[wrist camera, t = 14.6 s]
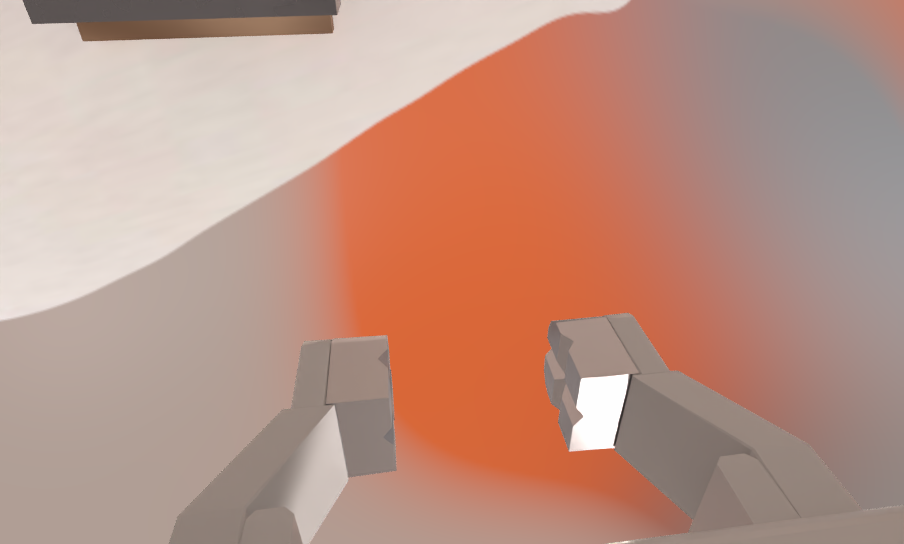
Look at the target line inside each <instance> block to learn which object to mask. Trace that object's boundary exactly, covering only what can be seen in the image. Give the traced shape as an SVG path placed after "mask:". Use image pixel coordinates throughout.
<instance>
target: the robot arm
mask: <svg viewBox="0 0 904 544" xmlns="http://www.w3.org/2000/svg"><path fill="white" fill-rule="evenodd" d="M547 338H548V340H549V343H550V346H551V348H552V349H551V350H550V351H549V352H548V353H547V354H546V356H545V366H544V373H545V384H546V388H547V392H548V395H549V398H550V401H551V404H552V405H554V406H555V407H557V408H558V409H559V410H560V414H559V420H558V423H559V426H560V428H561V431H562V434H563V436H564V439H565V442H566V444H567V447H568V450H569V451H578V450H591V449H603V448H615V449H614V450H615V451H616V452H617V453H618V454H620V455H621V456H622V457H623V458H624V459H625V460H626V461H627V462H629V463H630V464H631V465H632V466H633V467H634V468H636V470H638V471H639V472H640V473H641V474H642V475H643V476H644V477H645V478H647V479H648V480H649V481H650V482H651V483H652V484H653V485H654V486H656V487H657V488H658V489H659V490H660V491H661V492H662V493H663V494H665V495H666V496H667V497H668V498H669V499H671V501H672V502H673V503H675V504H676V505H677V506H678V507H679V508H680V509H681V510H682V511H684V512H685V513H686V514H687V515H688V516H689V517H690V518H691V519H693V522H692V525H691V527H690V530H689V532H688V533H684V534H676V535H669V536H661V537H653V538H646V539H638V540H630V541H623V542H615V543H608V544H904V505H899V506H892V507H883V508H876V509H868V510H862V508H861V507H860V506H859V505H858V503H857V502H856V501H855V500H854V499H853V497H852V496H851V495H850V494H849V493H848V491H847V490H846V489H845V488H844V486H843V485H842V484H841V483H840V482H839V480H838V479H837V478H836V477H835V476H834V474H833V473H832V472H831V471H830V469H829V468H828V467H827V466H826V464H825V463H824V462H823V461H822V460H821V458H820V457H819V456H818V455H817V454H816V453H815V451H814V450H813V449H812V447H811V446H810V445H809V444H807V443H806V442H804V441H802V440H800V439H798V438H797V437H795V436H793V435H791V434H790V433H787V432H786V431H784V430H782V429H781V428H779V427H777V426H775V425H774V424H772V423H770V422H768V421H766V420H765V419H763V418H761V417H759V416H757V415H756V414H754V413H752V412H750V411H749V410H747V409H745V408H743V407H741V406H740V405H738V404H736V403H734V402H733V401H731V400H729V399H727V398H725V397H724V396H722V395H720V394H718V393H717V392H715V391H713V390H711V389H709V388H708V387H706V386H704V385H702V384H700V383H699V382H697V381H695V380H693V379H692V378H690V377H688V376H686V375H685V374H683V373H681V372H679V371H669V369H668V368H667V366H666V365H665V363H664V362H663V360H662V359H661V357H660V356H659V354H658V353H657V351H656V350H655V348H654V347H653V345H652V344H651V342H650V341H649V339H648V338H647V336H646V335H645V333H644V332H643V330H642V329H641V327H640V325H639V324H638V322H637V321H636V320H635V318H634V316H632V315H631V314H629V313H624V314H616V315H615V314H614V315H606V316H602V317H591V318H581V319H571V320H570V319H569V320H559V321H551V323H550V326H549V329H548V337H547ZM389 471H396V446H395V432H394V405H393V389H392V377H391V370H390V360H389V347H388V339H387V335H386V336H371V337H356V338H339V339H333V340H316V341H304V343H303V345H302V347H301V352H300V358H299V363H298V369H297V376H296V381H295V388H294V394H293V400H292V406H291V409H285V410H282V411H281V412H280V413H279V414H278V415H277V416H276V417H275V418H274V419H273V420H272V421H271V422H270V423H269V424H268V425H267V426H266V427H265V428H264V429H263V430H262V431H261V432H260V433H259V434H258V435H257V436H256V437H255V438H254V439H253V440H252V441H251V442H250V443H249V444H248V445H247V446H246V447H245V448H244V449H243V450H242V451H241V452H240V454H238V456H237V457H236V458H235V459H234V460H233V461H232V462H231V463H230V464H229V465H228V466H227V467H226V468H225V469H224V470H223V471H222V472H221V473H220V474H219V475H218V476H217V477H216V478H215V479H214V480H213V481H212V482H211V483H210V484H209V485H208V486H207V487H206V488H205V489H204V490H203V491H202V492H201V493H200V494H199V495H198V496H197V497H196V498H195V499H194V500H193V501H192V502H191V503H190V505H189V506H187V507H186V508H185V510H184V511H183V512H182V513H181V514H180V515H179V516H178V517H177V520H176V523H175V526H174V530H173V533H172V536H171V539H170V542H169V544H309V543H310V542H311V540H312V538H313V537H314V535H315V534H316V532H317V530H318V529H319V527H320V525H321V524H322V522H323V521H324V519H325V517H326V516H327V514H328V512H329V511H330V509H331V508H332V506H333V504H334V503H335V501H336V500H337V498H338V496H339V495H340V493H341V491H342V490H343V488H344V487H345V485H346V483H347V482H348V477H353V476H361V475H369V474H375V473H383V472H389Z"/></svg>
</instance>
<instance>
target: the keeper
mask: <svg viewBox="0 0 904 544" xmlns="http://www.w3.org/2000/svg"><path fill="white" fill-rule="evenodd" d="M77 26H78V29H79V32H80V34H81V37H82V40H83V41H108V40H139V39H170V38H201V37H232V36H263V35H294V34H325V33H333V30H334V26H333V18H332V15H322V16H287V17H253V18H218V19H183V20H149V21H114V22H79V23H77Z"/></svg>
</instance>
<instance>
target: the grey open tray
mask: <svg viewBox="0 0 904 544" xmlns="http://www.w3.org/2000/svg"><path fill="white" fill-rule="evenodd" d="M23 2H24V5H25V7H26V10H27V12H28V15H29V17H30V19H31V22H32V24H45V23H79V22H114V21H149V20H183V19H218V18H253V17H287V16H322V15H337V14H338V11H339V8H340V5H341V2H340V0H23Z"/></svg>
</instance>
